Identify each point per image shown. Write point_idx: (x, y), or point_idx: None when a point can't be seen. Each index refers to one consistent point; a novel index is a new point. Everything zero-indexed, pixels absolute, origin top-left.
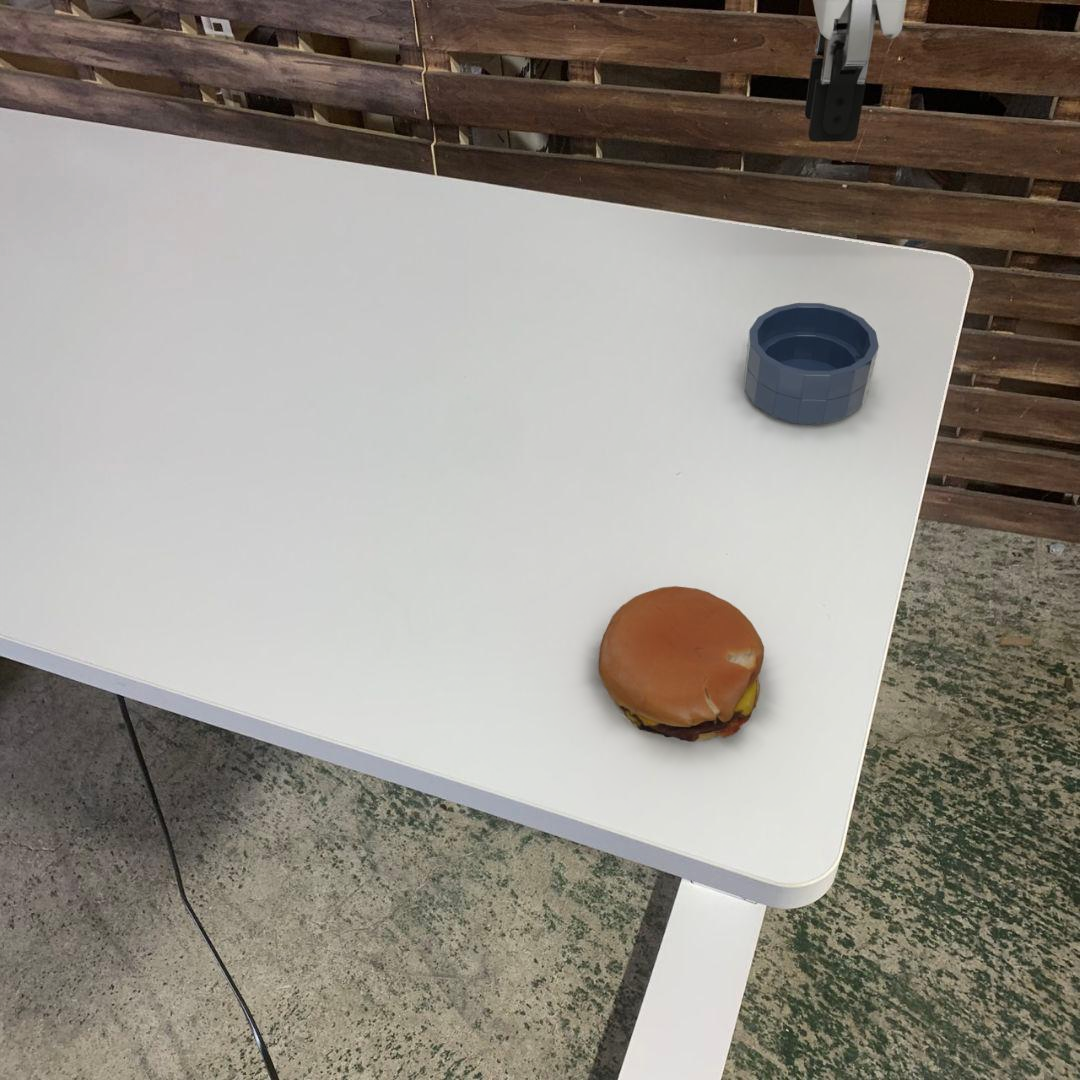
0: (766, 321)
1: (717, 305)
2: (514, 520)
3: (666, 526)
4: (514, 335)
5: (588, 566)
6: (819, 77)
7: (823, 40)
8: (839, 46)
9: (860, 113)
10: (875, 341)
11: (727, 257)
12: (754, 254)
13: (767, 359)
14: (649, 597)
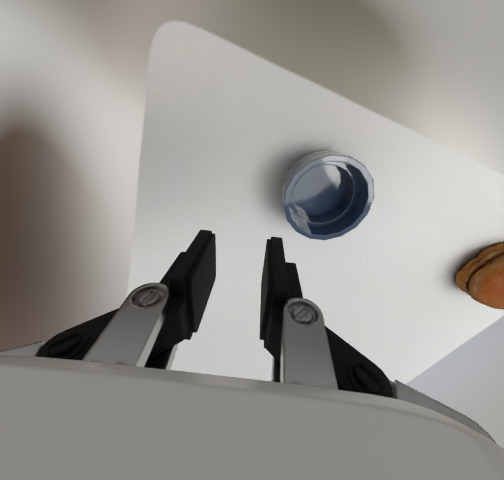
0: (298, 225)
1: (225, 226)
2: (375, 312)
3: (401, 265)
4: (250, 311)
5: (412, 292)
6: (201, 311)
7: (169, 362)
8: (169, 329)
9: (284, 256)
10: (344, 158)
11: (171, 214)
12: (165, 197)
13: (344, 233)
14: (491, 296)
